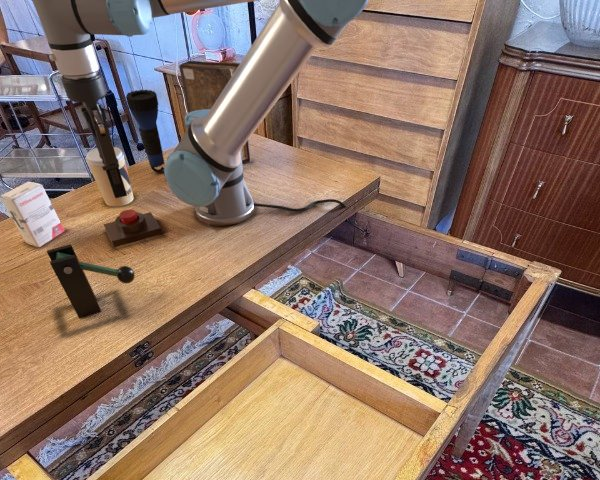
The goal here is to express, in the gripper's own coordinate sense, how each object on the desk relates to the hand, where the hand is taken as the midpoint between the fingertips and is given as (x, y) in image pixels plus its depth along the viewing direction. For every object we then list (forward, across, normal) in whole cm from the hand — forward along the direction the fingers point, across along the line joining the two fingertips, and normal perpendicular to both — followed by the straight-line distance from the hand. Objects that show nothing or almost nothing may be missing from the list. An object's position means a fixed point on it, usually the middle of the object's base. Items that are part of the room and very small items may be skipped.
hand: (120, 195), depth 102 cm
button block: (+10, 0, 0) cm, 10 cm away
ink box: (+10, -10, -20) cm, 24 cm away
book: (+10, -28, +35) cm, 46 cm away
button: (+6, 0, 0) cm, 6 cm away
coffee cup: (+10, -20, +1) cm, 22 cm away
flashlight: (+10, -31, +16) cm, 36 cm away
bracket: (+10, +26, -16) cm, 32 cm away
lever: (+2, +26, -12) cm, 29 cm away
